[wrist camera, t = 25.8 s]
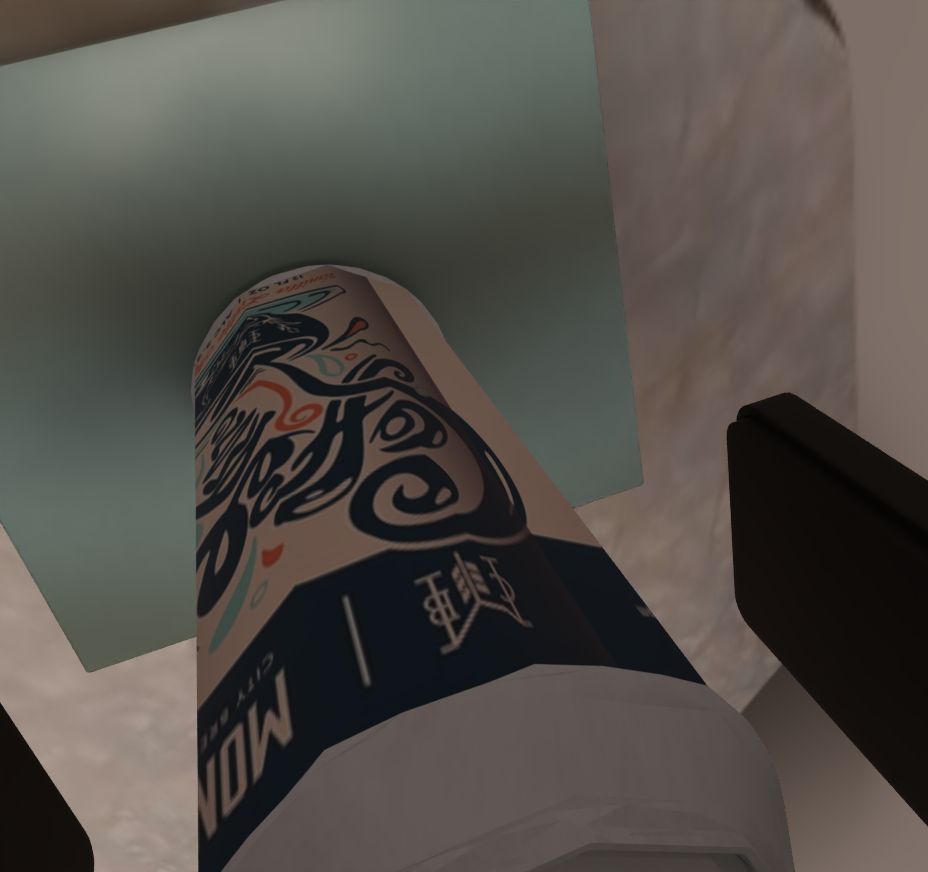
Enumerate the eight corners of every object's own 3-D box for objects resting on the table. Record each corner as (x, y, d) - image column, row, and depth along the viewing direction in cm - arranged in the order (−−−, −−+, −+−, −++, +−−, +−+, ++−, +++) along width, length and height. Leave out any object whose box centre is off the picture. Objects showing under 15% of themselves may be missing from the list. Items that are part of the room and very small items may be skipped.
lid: (-360, -150, 11) (-775, -269, 6) (534, -315, 13) (734, -503, 8) (90, 650, 18) (54, 881, 13) (629, 469, 20) (767, 614, 15)
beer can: (289, 201, 15) (528, 674, 4) (493, 347, 17) (970, 885, 7) (138, 418, 16) (33, 1240, 5) (350, 529, 18) (571, 1254, 7)
